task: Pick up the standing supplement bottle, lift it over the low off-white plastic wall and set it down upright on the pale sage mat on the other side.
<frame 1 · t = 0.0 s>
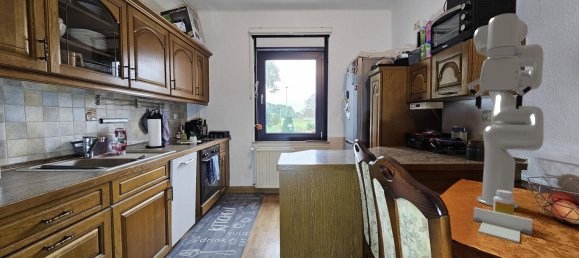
hand: (497, 108, 83), 37 cm above the table, tool pointing down, fingers open, 9 cm apart
supplement bottle: (502, 220, 85), on the table
low wall: (500, 225, 80), on the table
mat: (499, 232, 75), on the table
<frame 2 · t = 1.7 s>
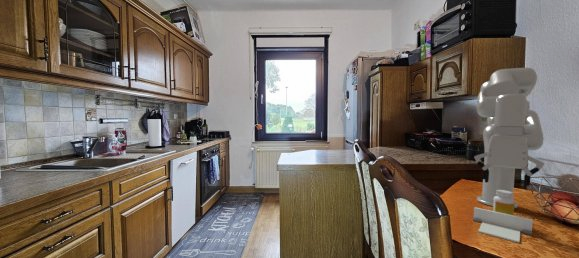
hand: (505, 184, 84), 12 cm above the table, tool pointing down, fingers open, 9 cm apart
nothing on the table moved.
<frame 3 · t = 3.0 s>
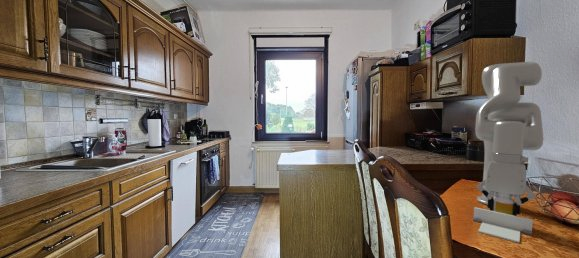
hand: (502, 212, 85), 3 cm above the table, tool pointing down, fingers closed on supplement bottle, 5 cm apart
supplement bottle: (502, 220, 85), on the table, touching gripper
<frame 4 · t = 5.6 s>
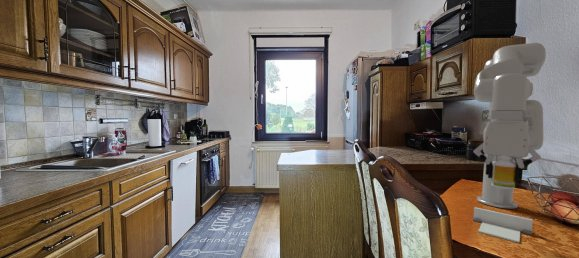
hand: (503, 178, 75), 16 cm above the table, tool pointing down, fingers closed on supplement bottle, 5 cm apart
supplement bottle: (502, 187, 75), point 13 cm above the table, touching gripper
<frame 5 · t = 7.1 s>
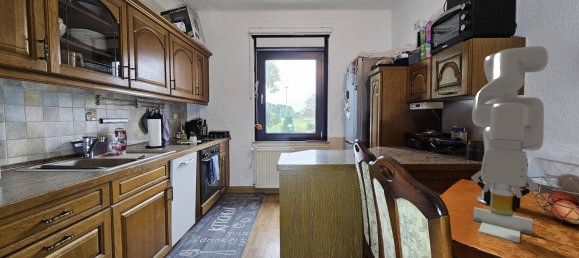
hand: (501, 206, 75), 8 cm above the table, tool pointing down, fingers closed on supplement bottle, 5 cm apart
supplement bottle: (500, 215, 75), point 5 cm above the table, touching gripper
when the fingers open (4 cm above the table, at t = 8.2 s): supplement bottle drops 1 cm, resting on mat.
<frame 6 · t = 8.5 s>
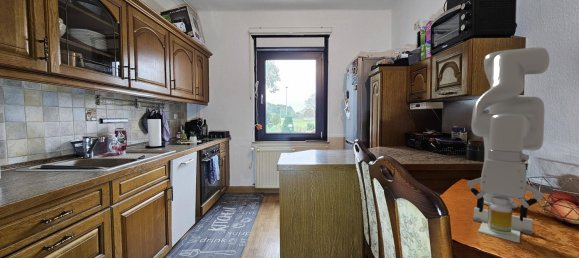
hand: (500, 215, 75), 5 cm above the table, tool pointing down, fingers open, 8 cm apart
supplement bottle: (499, 231, 76), resting on mat
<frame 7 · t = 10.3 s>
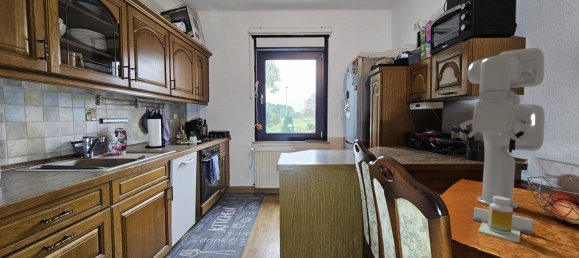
hand: (490, 150, 82), 23 cm above the table, tool pointing down, fingers open, 9 cm apart
nothing on the table moved.
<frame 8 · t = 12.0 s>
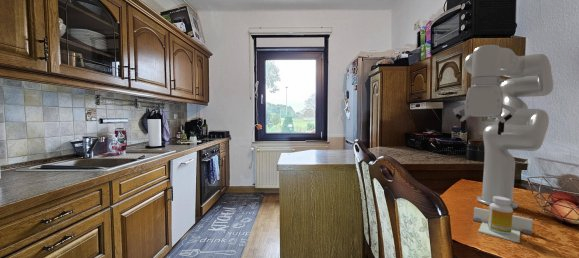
hand: (481, 133, 88), 28 cm above the table, tool pointing down, fingers open, 9 cm apart
nothing on the table moved.
at the end: supplement bottle 0.3 cm off-centre on the mat, point 0.2 cm above the mat's base; supplement bottle tilted 1°; the gripper is holding nothing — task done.
